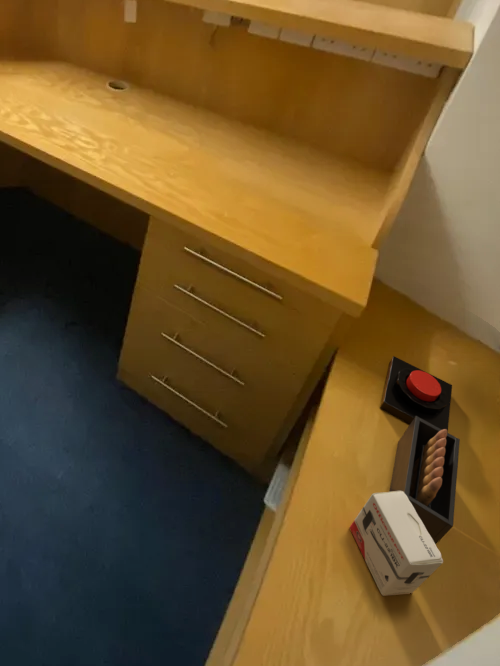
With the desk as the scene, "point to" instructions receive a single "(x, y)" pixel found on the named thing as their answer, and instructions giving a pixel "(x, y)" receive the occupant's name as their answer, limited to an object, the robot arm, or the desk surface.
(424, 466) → the ammunition clip
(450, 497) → the box
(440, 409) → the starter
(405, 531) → the ink box
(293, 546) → the desk surface
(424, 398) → the button
